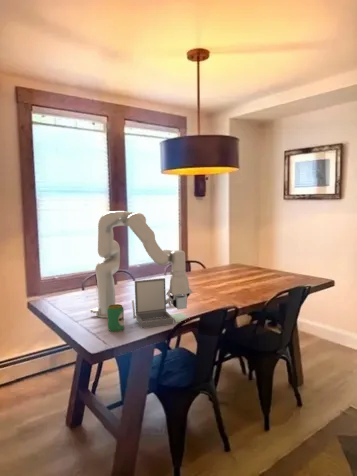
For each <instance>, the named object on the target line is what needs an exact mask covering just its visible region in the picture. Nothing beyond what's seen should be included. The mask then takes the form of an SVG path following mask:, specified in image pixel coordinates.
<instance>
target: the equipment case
mask: <svg viewBox="0 0 357 476" xmlns="http://www.w3.org/2000/svg"><path fill="white" fill-rule="evenodd" d="M166 294H167V292H166V277H162V278H161V277H160V278H152V279H151V278H150V279H141V280H140V279H139V280H134V297H135V298H134V299H132V300H131V304H132V313H133V314H132V318H133V319H135V320H136V321H137V323H138V324H139V326H140V328H141V329H147V328H154V327H156V328H157V327H161V326H169V325H175V320H174V318H173V317H172V316H171V314H170V313H169V311H167V304H166V299H167V297H166ZM157 318H159V319H157ZM161 318H163V319H161ZM150 319H151V320H150ZM152 319H153V320H152ZM155 319H156V320H155ZM143 320H147V321H143Z"/></svg>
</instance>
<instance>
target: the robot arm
mask: <svg viewBox="0 0 357 476" xmlns="http://www.w3.org/2000/svg"><path fill="white" fill-rule="evenodd" d="M120 226H124V227H129V229H130V230H131V231H132V233H134V235H135V236H136V237H137V238H138V239H139V240H140V242H141V243H142V246H143V249H145V252H146V253H147V254H148V256H149V258H151V260H152V261H153V262H154V263H155V264H156V265H157V266H160V267H164V266H167V265H168V264H170V263H171V270H170V271H169V272H168V273H169V275H171V276H170V280H169V289H168V290H167V292H166V295H167V296H168V298H169V297H170V298H172V299H173V305H172V306H173V307H174V308H176V295H184V296H185V297H186V300H187V301H188V298H189V296H190V295H191V294H192V293H193V290H192V289H191V287H190V282H189V277H188V275H187V273H186V272H187V271H186V267H187V266H186V253H185V251H184V250H180V249H179V250H171V249H164V250H163V249H162V248H161V247H160V246H159V244H158V243H157V241H156V234H155V232H154V231H153V230H152V228H151V227H150V226H149V224H148V223H147V218H146V216H145V215H144V214H143V213H141V212H133V211H125V210H114V211H108V212H107V213H104V214H103V215H102V216H100V218H99V220H98V224H97V254H98V256H99V257H101V258H102V259H103V260H101V261H99V262H98V263H97V264H96V266H95V270H94V272H95V275H96V281H97V283H96V284H97V297H98V299H97V300H98V306H97V307H96V308H90V310H89V311H90V313H92V314H95V315H96V317H98V318H101V319H102V318H104V319H105V318H106V319H108V311H107V309H108V307H109V306H110V305H114V304H116V289H115V288H116V287H115V286H116V285H115V280H114V279H115V278H114V275H115V274H116V272H117V273H118V271H119V269H120V264H121V263H120V262H121V261H120V260H121V249H120V248H121V247H120V243H119V242H118V241H116V240H115V239H114V236H115V235H114V230H113V228H115V227H120Z"/></svg>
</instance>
